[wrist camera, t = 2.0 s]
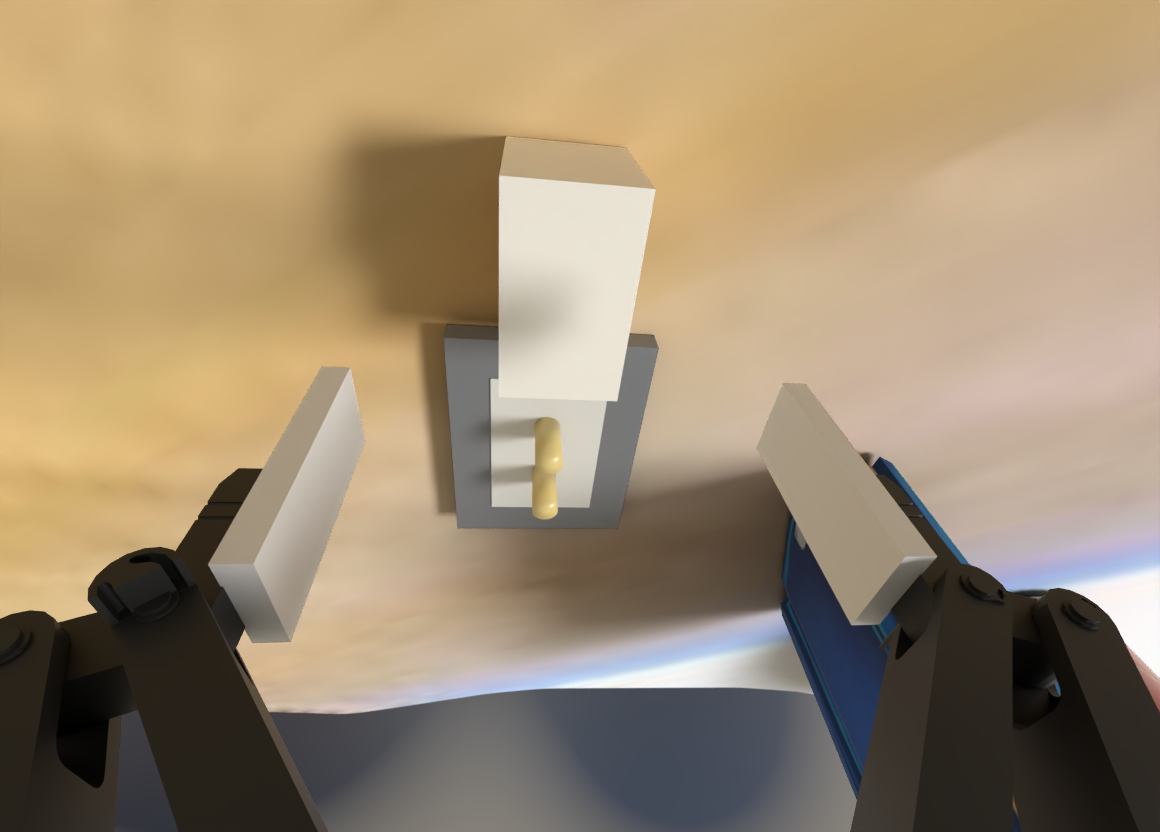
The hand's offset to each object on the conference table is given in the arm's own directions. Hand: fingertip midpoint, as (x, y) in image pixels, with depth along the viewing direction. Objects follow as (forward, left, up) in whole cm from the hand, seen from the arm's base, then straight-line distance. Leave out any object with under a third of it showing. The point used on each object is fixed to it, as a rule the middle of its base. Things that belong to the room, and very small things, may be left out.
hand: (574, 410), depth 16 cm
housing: (0, 0, -14) cm, 14 cm away
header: (+13, 0, -14) cm, 19 cm away
